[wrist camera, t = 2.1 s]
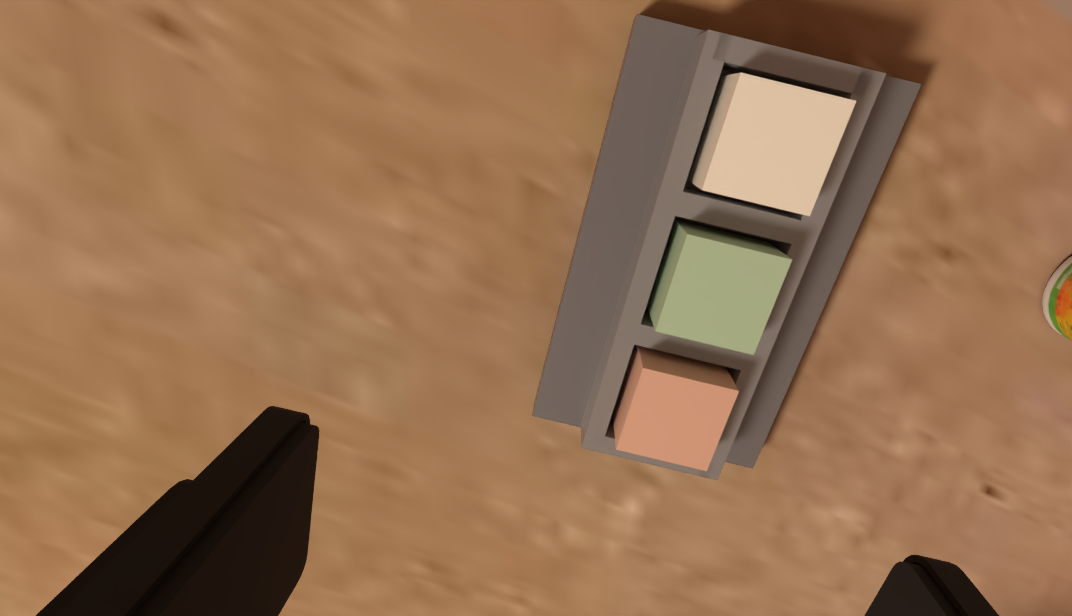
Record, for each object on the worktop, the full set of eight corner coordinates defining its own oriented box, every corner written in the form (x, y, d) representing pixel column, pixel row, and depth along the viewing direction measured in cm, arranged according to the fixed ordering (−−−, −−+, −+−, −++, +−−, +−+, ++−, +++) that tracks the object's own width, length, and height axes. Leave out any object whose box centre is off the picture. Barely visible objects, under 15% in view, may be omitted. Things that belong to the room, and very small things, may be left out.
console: (903, 85, 26) (956, 81, 23) (745, 453, 34) (766, 497, 30) (634, 18, 26) (643, 4, 23) (534, 402, 34) (528, 440, 30)
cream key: (823, 101, 25) (856, 100, 22) (783, 203, 26) (810, 216, 23) (721, 76, 25) (740, 72, 22) (688, 180, 26) (701, 190, 23)
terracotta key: (722, 361, 29) (739, 391, 26) (694, 435, 31) (706, 471, 28) (636, 340, 29) (643, 368, 26) (612, 415, 31) (616, 449, 28)
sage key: (768, 242, 27) (792, 259, 24) (735, 328, 29) (753, 354, 26) (675, 219, 27) (687, 234, 24) (647, 307, 29) (655, 331, 26)
